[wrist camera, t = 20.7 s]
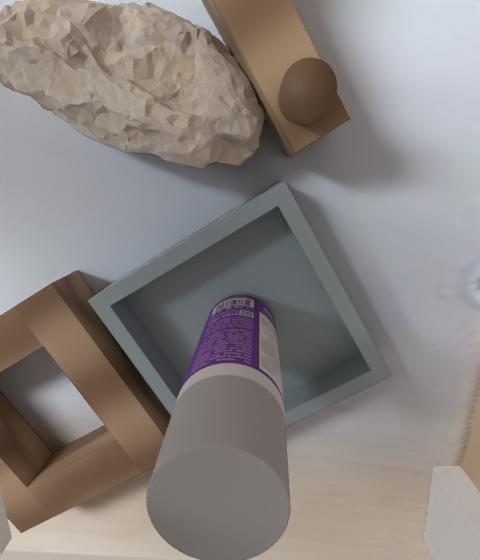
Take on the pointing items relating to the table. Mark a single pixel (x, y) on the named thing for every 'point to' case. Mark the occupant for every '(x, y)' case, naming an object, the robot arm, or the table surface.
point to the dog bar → (281, 68)
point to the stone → (132, 78)
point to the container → (226, 441)
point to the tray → (254, 280)
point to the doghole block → (95, 390)
